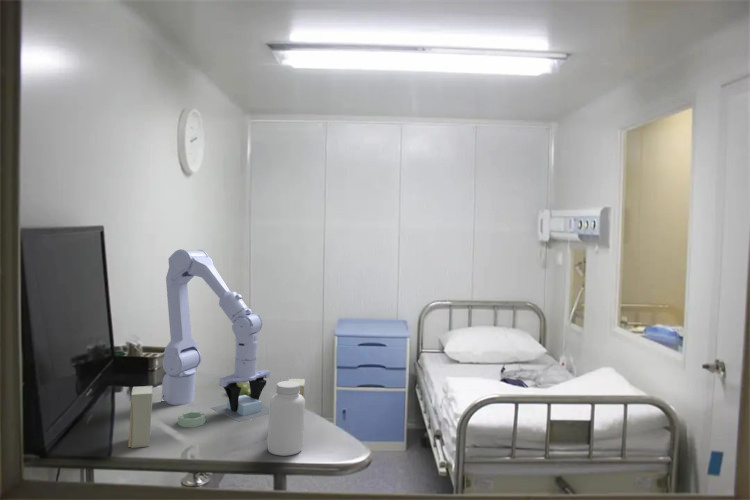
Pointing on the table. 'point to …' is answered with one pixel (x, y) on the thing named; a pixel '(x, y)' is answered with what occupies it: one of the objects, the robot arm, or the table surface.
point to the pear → (244, 388)
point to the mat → (239, 417)
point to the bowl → (192, 419)
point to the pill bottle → (286, 419)
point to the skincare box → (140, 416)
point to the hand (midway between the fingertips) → (244, 408)
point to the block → (247, 405)
